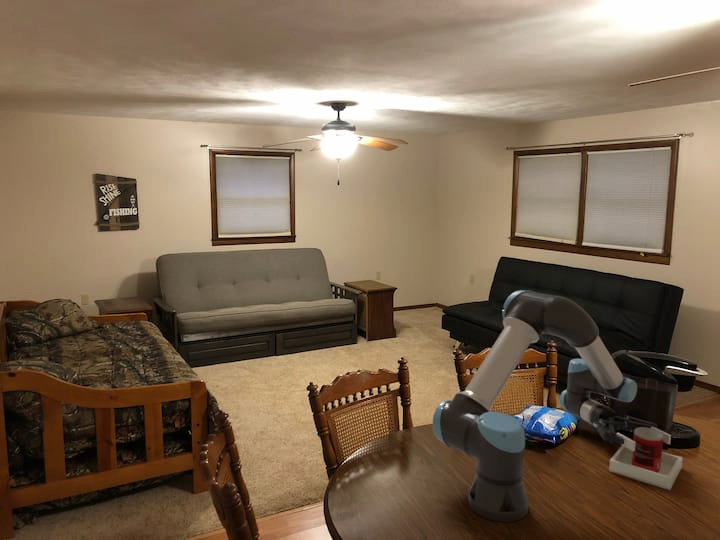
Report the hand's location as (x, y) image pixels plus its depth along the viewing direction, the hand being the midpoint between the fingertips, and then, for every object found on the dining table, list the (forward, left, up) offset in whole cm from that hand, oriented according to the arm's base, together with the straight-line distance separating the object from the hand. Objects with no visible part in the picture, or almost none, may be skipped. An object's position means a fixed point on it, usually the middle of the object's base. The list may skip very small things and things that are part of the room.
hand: (652, 443), depth 160 cm
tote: (0, +1, -9) cm, 9 cm away
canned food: (0, +1, -8) cm, 9 cm away
